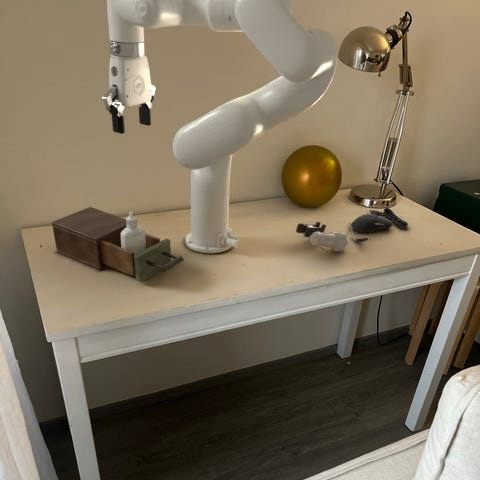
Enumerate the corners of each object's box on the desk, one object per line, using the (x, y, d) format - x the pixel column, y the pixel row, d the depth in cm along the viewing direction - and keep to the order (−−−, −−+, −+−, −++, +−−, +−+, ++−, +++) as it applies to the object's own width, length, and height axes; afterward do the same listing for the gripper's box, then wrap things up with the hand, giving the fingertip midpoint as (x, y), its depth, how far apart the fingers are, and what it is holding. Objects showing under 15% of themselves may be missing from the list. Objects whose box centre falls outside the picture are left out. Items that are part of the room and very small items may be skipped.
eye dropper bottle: (148, 263, 118) (145, 215, 111) (123, 265, 116) (118, 217, 110) (146, 255, 121) (142, 207, 114) (122, 257, 120) (117, 209, 113)
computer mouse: (336, 217, 150) (338, 204, 148) (387, 212, 155) (390, 200, 153) (356, 234, 141) (358, 221, 138) (410, 229, 145) (413, 216, 143)
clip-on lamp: (347, 242, 143) (292, 235, 136) (354, 220, 141) (298, 212, 133) (370, 257, 134) (312, 251, 126) (378, 234, 131) (319, 227, 124)
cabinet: (135, 251, 127) (133, 221, 122) (99, 270, 118) (95, 239, 113) (93, 235, 133) (90, 206, 128) (57, 252, 124) (51, 222, 120)
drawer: (190, 270, 118) (189, 246, 115) (159, 290, 110) (158, 265, 107) (129, 247, 126) (127, 224, 123) (96, 264, 119) (93, 239, 115)
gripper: (113, 56, 106) (120, 139, 116) (164, 48, 119) (166, 124, 128) (87, 51, 109) (95, 132, 119) (139, 44, 121) (143, 119, 131)
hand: (132, 128), depth 124 cm, fingers open, 9 cm apart
